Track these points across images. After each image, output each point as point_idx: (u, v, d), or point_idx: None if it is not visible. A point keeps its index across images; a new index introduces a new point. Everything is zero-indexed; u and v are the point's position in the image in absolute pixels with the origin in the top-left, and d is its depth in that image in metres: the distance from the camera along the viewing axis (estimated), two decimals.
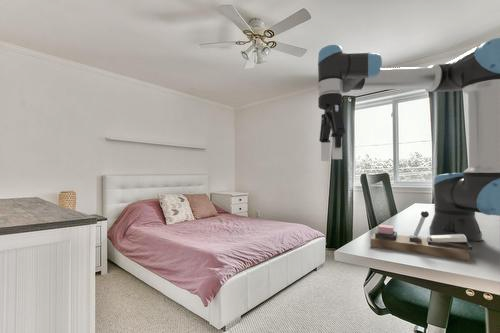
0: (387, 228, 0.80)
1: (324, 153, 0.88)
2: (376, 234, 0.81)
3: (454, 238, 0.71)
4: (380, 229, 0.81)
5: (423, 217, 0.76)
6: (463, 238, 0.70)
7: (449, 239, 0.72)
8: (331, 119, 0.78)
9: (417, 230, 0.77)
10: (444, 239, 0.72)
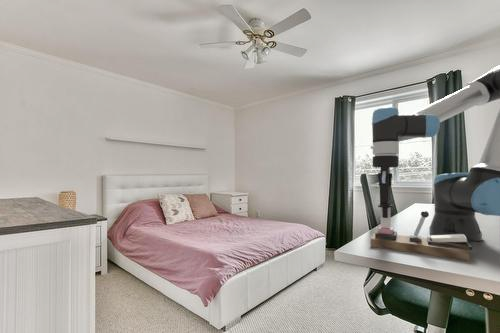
0: (387, 230, 0.80)
1: None
2: (376, 234, 0.81)
3: (454, 238, 0.71)
4: (380, 231, 0.81)
5: (423, 217, 0.76)
6: (463, 238, 0.70)
7: (449, 239, 0.72)
8: None
9: (417, 230, 0.77)
10: (444, 239, 0.72)
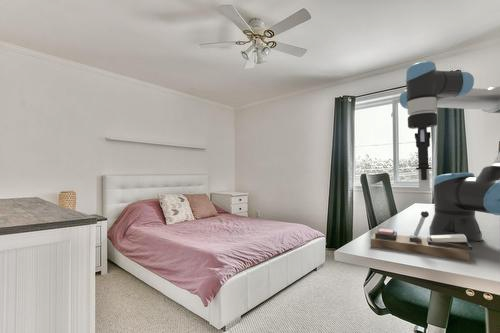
0: (387, 232, 0.80)
1: None
2: (376, 234, 0.81)
3: (454, 238, 0.71)
4: None
5: (423, 217, 0.76)
6: (463, 238, 0.70)
7: (449, 239, 0.72)
8: None
9: (417, 230, 0.77)
10: (444, 239, 0.72)
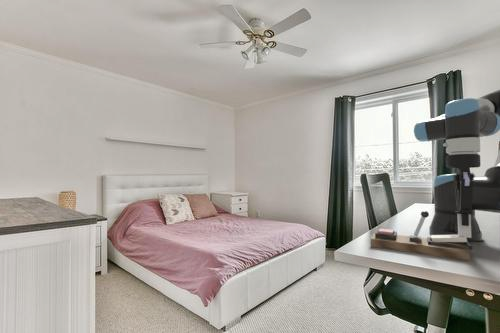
0: (387, 232, 0.80)
1: None
2: (376, 234, 0.81)
3: (454, 238, 0.71)
4: None
5: (423, 217, 0.76)
6: (463, 238, 0.70)
7: (449, 239, 0.72)
8: None
9: (417, 230, 0.77)
10: (444, 239, 0.72)
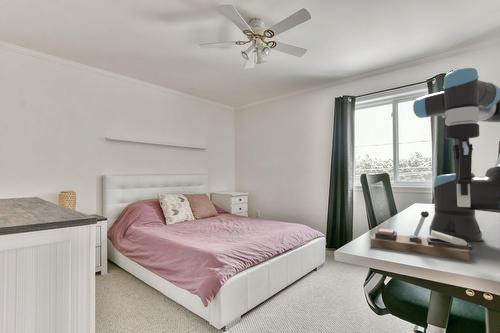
0: (387, 232, 0.80)
1: None
2: (376, 234, 0.81)
3: (455, 240, 0.71)
4: None
5: (423, 217, 0.76)
6: (463, 243, 0.70)
7: (449, 239, 0.72)
8: None
9: (417, 230, 0.77)
10: (444, 238, 0.72)
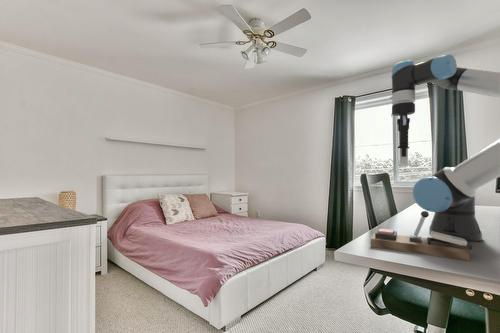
0: (387, 232, 0.80)
1: None
2: (376, 234, 0.81)
3: (455, 240, 0.71)
4: None
5: (423, 217, 0.76)
6: (464, 242, 0.70)
7: (449, 239, 0.72)
8: None
9: (417, 230, 0.77)
10: (444, 238, 0.72)
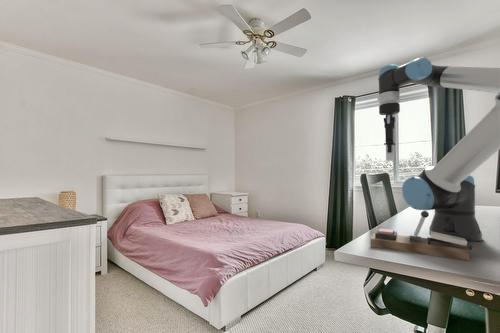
0: (387, 232, 0.80)
1: None
2: (376, 234, 0.81)
3: (455, 240, 0.71)
4: None
5: (423, 217, 0.76)
6: (464, 242, 0.70)
7: (449, 239, 0.72)
8: None
9: (417, 230, 0.77)
10: (444, 238, 0.72)
